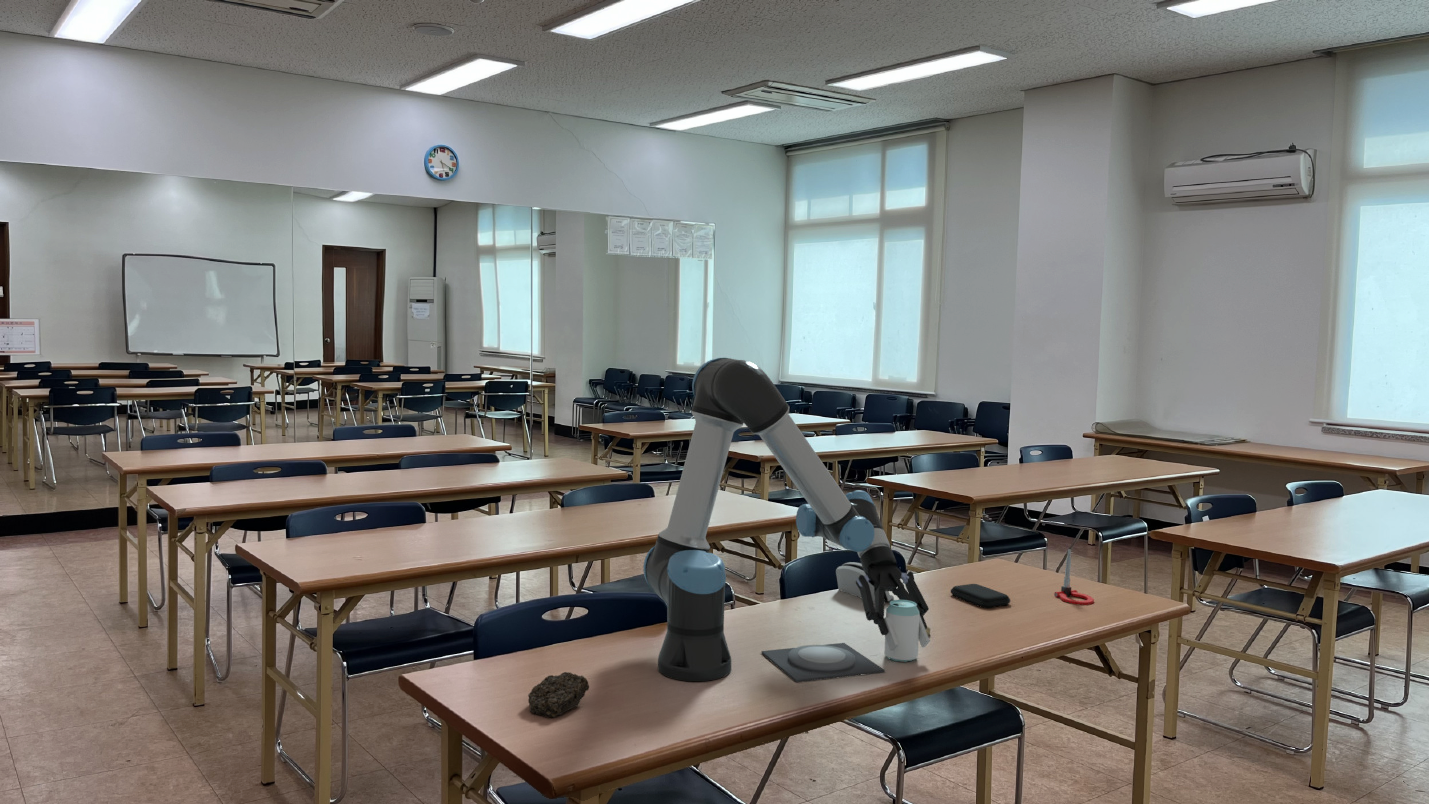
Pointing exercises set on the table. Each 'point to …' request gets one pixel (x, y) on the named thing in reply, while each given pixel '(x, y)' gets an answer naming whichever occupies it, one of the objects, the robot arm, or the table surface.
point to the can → (903, 630)
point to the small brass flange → (928, 631)
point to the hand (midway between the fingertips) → (910, 645)
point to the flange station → (821, 662)
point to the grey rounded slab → (854, 580)
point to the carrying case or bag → (980, 595)
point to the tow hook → (1067, 589)
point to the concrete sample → (557, 694)
